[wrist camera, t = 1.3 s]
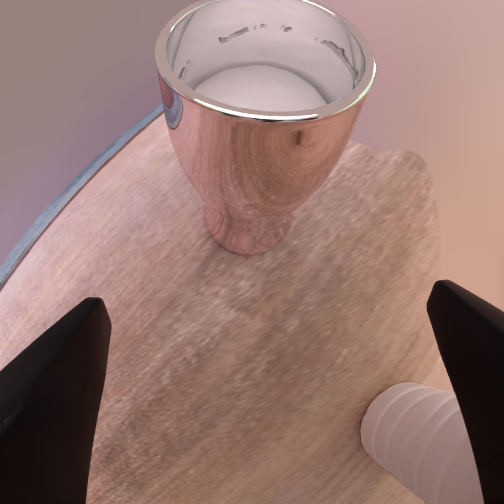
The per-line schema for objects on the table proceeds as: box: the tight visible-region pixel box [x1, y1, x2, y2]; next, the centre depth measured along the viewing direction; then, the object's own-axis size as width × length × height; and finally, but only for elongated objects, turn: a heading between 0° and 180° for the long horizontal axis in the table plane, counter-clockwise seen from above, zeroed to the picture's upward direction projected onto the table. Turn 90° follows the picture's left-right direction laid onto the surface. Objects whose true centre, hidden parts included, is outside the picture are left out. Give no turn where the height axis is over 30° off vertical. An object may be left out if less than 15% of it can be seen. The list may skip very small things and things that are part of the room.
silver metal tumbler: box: [154, 0, 376, 255], centre depth 15 cm, size 7×7×15 cm
